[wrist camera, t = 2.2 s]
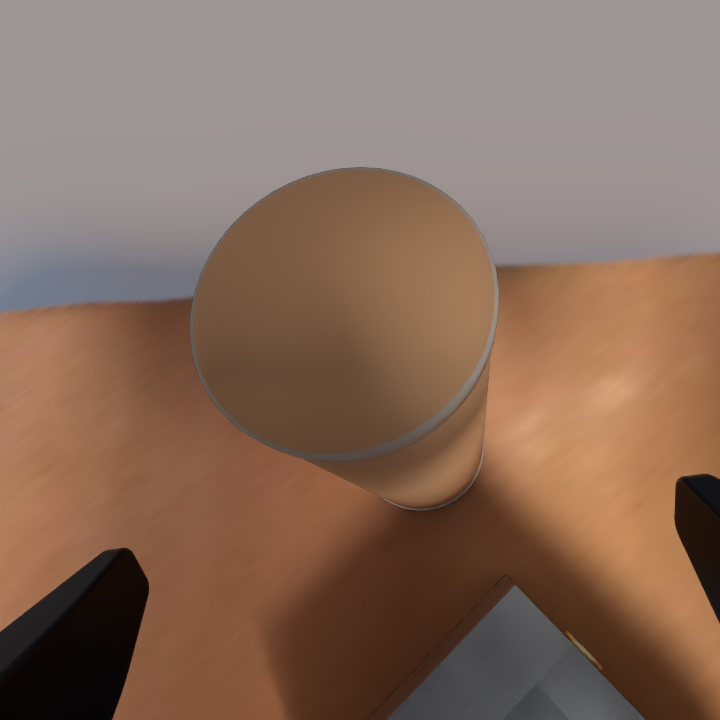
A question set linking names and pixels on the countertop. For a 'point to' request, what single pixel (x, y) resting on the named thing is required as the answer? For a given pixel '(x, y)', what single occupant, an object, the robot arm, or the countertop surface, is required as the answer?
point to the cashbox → (507, 671)
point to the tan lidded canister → (355, 331)
